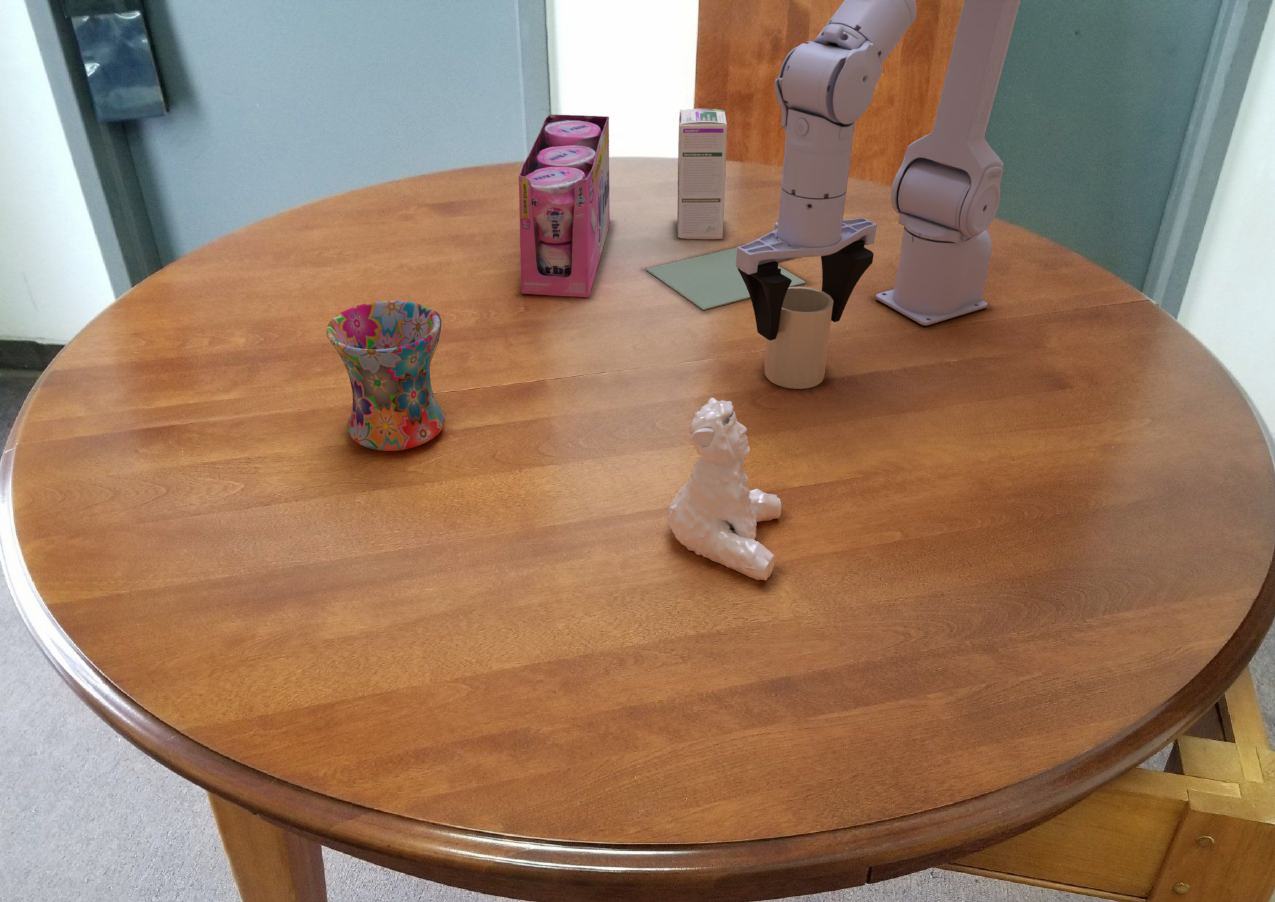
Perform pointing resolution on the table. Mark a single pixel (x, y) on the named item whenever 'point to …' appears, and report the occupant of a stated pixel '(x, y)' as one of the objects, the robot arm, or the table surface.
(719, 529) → the seated beast figurine
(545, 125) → the gum box
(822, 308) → the cup
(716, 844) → the table surface
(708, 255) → the mat
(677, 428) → the table surface
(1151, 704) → the table surface
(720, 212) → the syrup box
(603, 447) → the table surface
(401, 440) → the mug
